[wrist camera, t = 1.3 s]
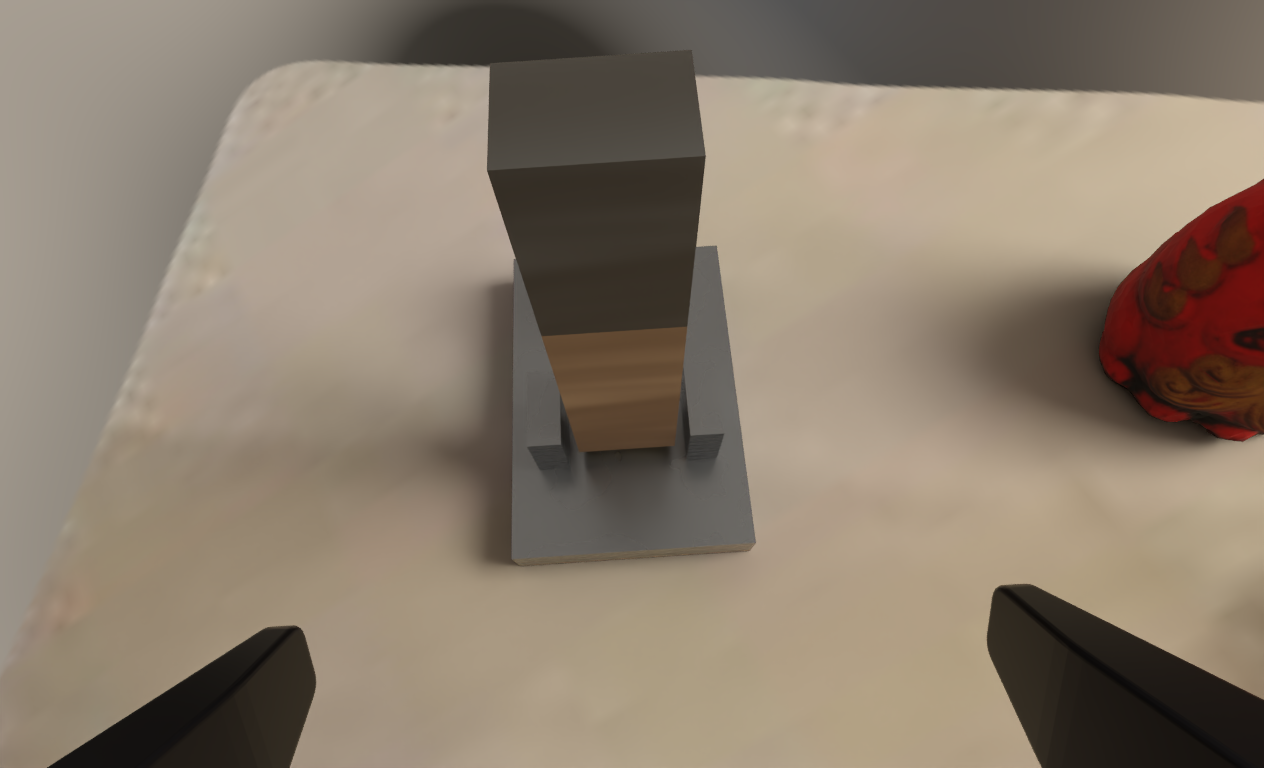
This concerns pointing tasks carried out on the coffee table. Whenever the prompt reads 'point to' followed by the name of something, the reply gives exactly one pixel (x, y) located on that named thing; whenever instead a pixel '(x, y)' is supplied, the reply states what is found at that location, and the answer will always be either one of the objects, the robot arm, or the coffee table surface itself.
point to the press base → (631, 455)
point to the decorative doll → (1197, 323)
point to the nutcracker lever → (604, 228)
